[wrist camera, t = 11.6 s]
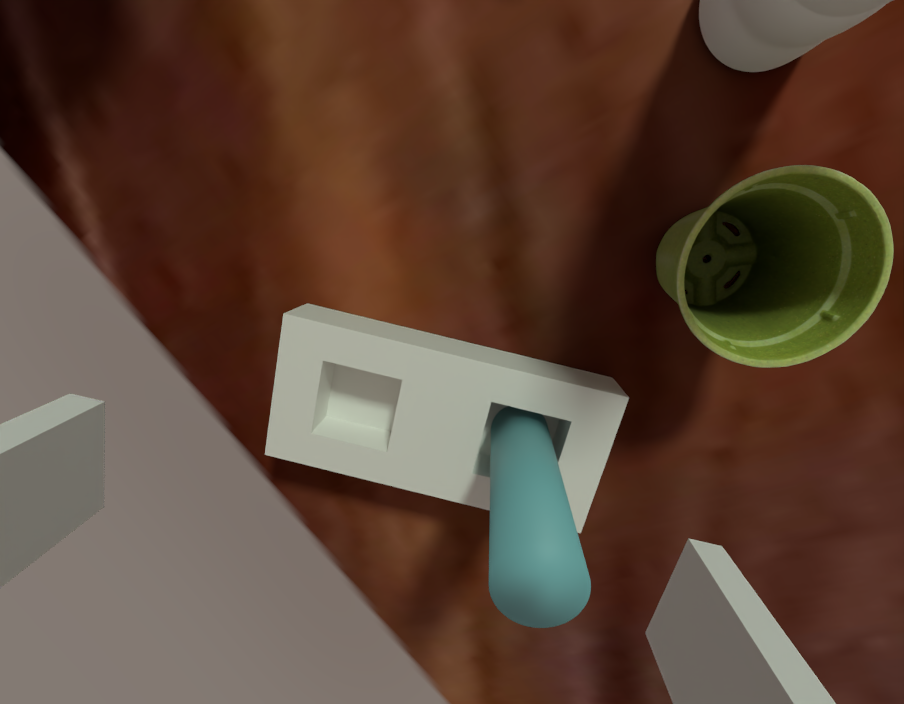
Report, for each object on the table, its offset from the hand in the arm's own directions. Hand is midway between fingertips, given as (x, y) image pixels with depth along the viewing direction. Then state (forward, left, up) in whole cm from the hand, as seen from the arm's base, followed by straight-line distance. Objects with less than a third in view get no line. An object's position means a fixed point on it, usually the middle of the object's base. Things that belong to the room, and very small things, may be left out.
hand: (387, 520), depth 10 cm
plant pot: (-8, +14, -23) cm, 28 cm away
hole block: (+6, 0, -23) cm, 24 cm away
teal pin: (+6, +6, -22) cm, 23 cm away
